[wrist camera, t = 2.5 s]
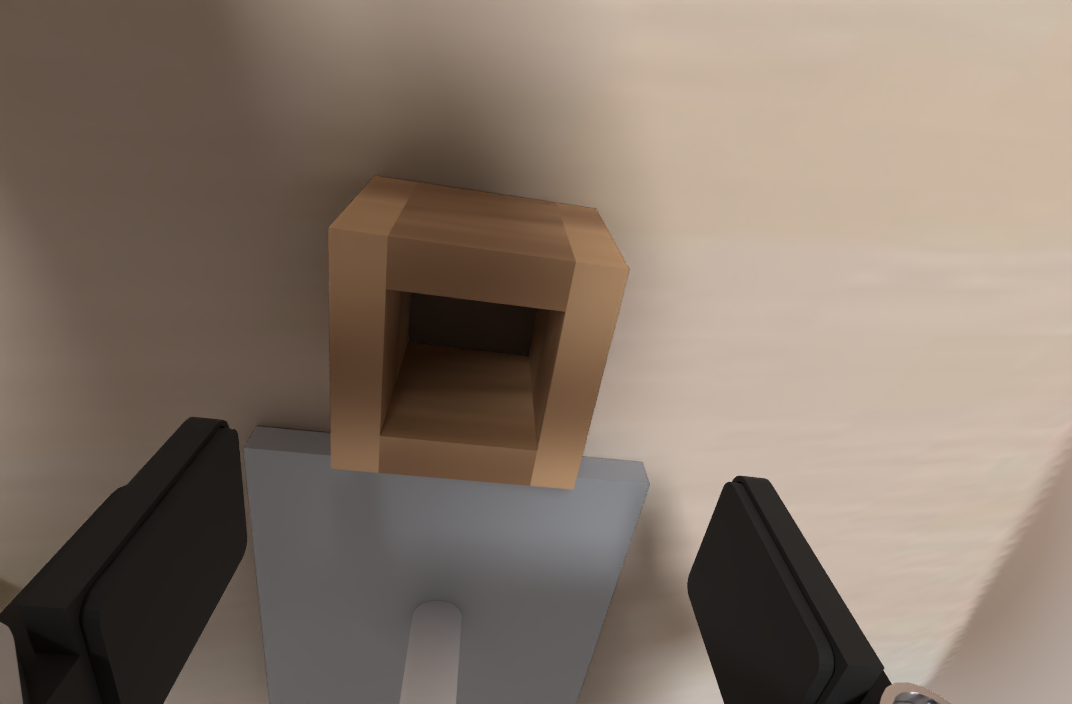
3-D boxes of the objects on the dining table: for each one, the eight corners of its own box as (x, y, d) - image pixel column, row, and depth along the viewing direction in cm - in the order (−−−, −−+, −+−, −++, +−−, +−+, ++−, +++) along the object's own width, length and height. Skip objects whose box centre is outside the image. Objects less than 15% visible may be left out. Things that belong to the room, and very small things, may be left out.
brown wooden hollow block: (374, 175, 16) (327, 227, 12) (596, 208, 17) (629, 269, 12) (369, 369, 19) (331, 468, 15) (557, 389, 20) (573, 489, 16)
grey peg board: (256, 426, 20) (91, 690, 12) (642, 462, 22) (726, 713, 14) (280, 694, 27) (188, 966, 19) (565, 705, 29) (589, 959, 21)
